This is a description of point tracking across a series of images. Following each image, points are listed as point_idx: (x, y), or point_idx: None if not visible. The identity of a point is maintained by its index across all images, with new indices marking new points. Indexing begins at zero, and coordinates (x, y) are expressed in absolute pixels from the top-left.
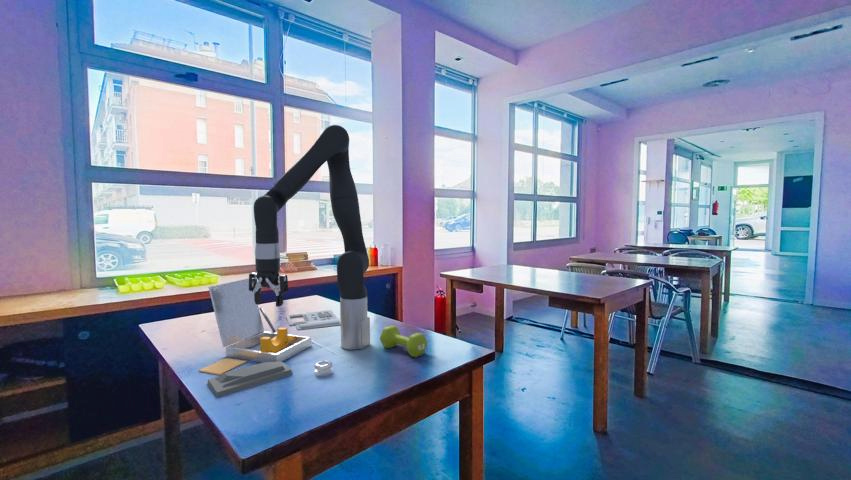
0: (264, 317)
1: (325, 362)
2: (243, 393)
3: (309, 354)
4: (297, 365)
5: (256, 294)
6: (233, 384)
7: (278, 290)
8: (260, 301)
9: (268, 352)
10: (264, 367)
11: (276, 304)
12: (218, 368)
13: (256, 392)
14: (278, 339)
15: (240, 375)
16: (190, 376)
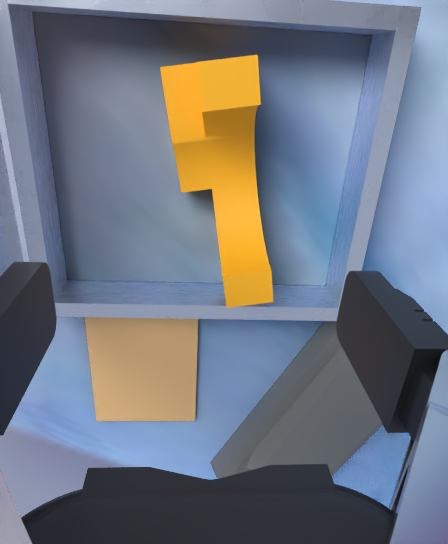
0: None
1: None
2: (353, 467)
3: (434, 153)
4: (427, 280)
5: (4, 427)
6: None
7: (422, 416)
8: (40, 288)
9: (296, 308)
10: (366, 411)
11: (350, 349)
12: (150, 394)
13: (386, 455)
14: (226, 132)
15: None
16: (109, 445)
